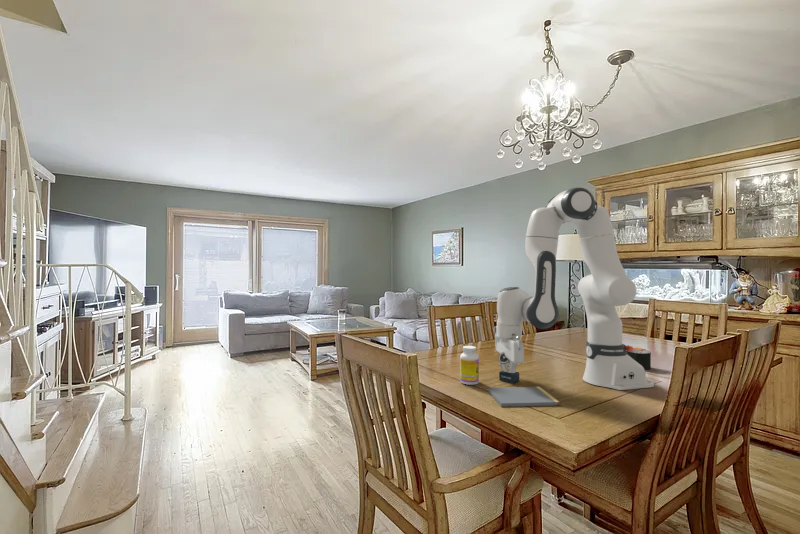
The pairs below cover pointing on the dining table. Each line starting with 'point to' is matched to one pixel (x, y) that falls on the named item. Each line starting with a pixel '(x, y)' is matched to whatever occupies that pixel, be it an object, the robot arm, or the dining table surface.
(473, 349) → the supplement bottle
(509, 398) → the grey flat slab
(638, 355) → the sushi
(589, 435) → the dining table surface
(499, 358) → the watch
